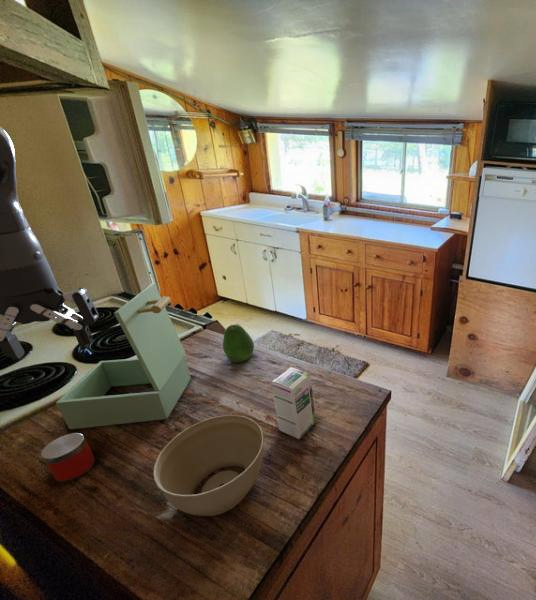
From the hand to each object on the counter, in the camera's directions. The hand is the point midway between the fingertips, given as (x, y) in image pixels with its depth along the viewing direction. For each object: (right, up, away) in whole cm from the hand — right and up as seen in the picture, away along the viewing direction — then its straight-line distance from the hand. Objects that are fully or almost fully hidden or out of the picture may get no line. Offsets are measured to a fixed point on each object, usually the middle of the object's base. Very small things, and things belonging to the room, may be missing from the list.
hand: (53, 351), depth 55 cm
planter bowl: (+27, -27, +4) cm, 38 cm away
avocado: (+13, -9, +40) cm, 43 cm away
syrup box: (+36, -20, +18) cm, 45 cm away
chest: (-4, -16, +23) cm, 28 cm away
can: (-2, -24, +6) cm, 25 cm away
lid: (+5, +1, +16) cm, 17 cm away
